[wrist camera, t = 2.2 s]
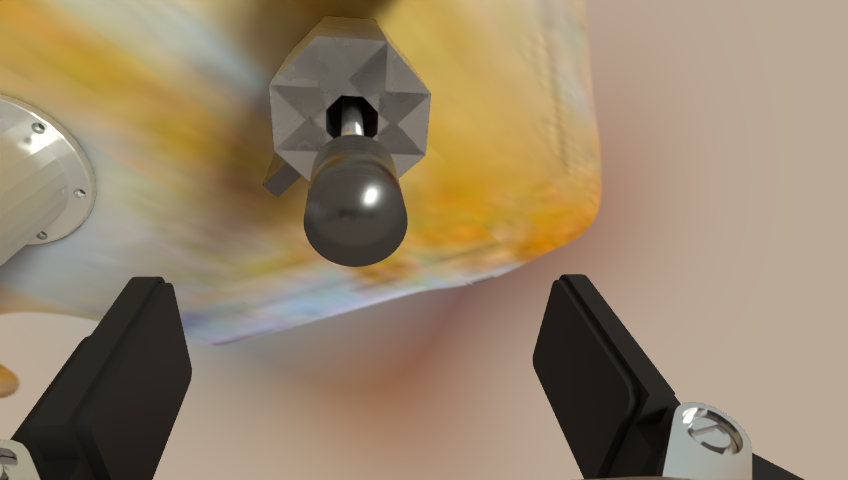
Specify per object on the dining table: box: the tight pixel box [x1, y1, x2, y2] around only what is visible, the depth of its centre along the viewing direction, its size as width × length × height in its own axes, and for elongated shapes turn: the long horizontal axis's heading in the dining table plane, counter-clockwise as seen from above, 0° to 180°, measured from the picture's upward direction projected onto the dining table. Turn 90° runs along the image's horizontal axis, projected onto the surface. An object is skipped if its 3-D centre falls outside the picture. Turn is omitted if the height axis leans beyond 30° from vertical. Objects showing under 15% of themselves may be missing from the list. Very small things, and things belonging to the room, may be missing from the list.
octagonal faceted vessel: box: [263, 16, 431, 197], centre depth 32 cm, size 12×9×12 cm
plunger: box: [304, 96, 407, 267], centre depth 23 cm, size 4×4×17 cm
